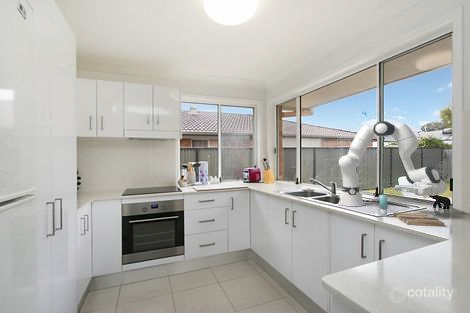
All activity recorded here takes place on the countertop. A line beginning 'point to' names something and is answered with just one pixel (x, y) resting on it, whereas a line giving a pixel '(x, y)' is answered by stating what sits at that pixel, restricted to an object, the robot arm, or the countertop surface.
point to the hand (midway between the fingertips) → (401, 189)
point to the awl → (383, 205)
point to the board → (418, 219)
